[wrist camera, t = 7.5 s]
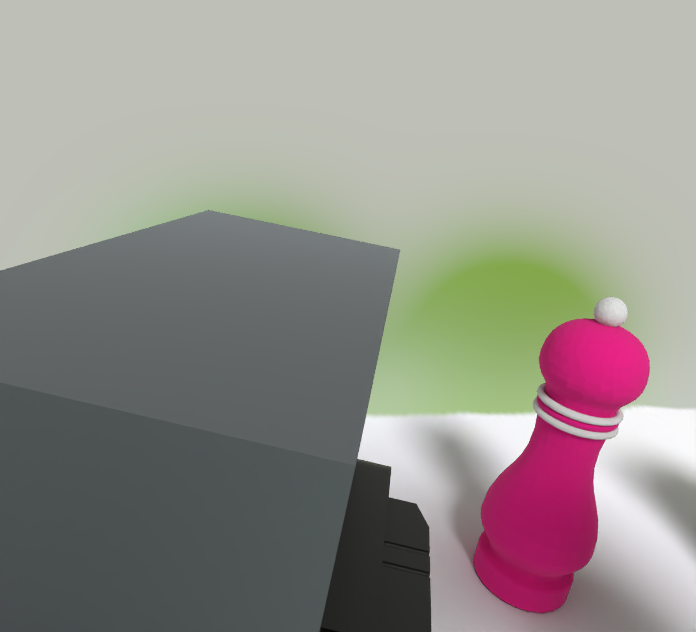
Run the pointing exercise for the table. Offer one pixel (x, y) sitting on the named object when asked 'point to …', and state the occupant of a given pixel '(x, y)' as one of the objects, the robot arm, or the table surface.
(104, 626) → the tall gray post
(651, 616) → the table surface
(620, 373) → the pepper mill
